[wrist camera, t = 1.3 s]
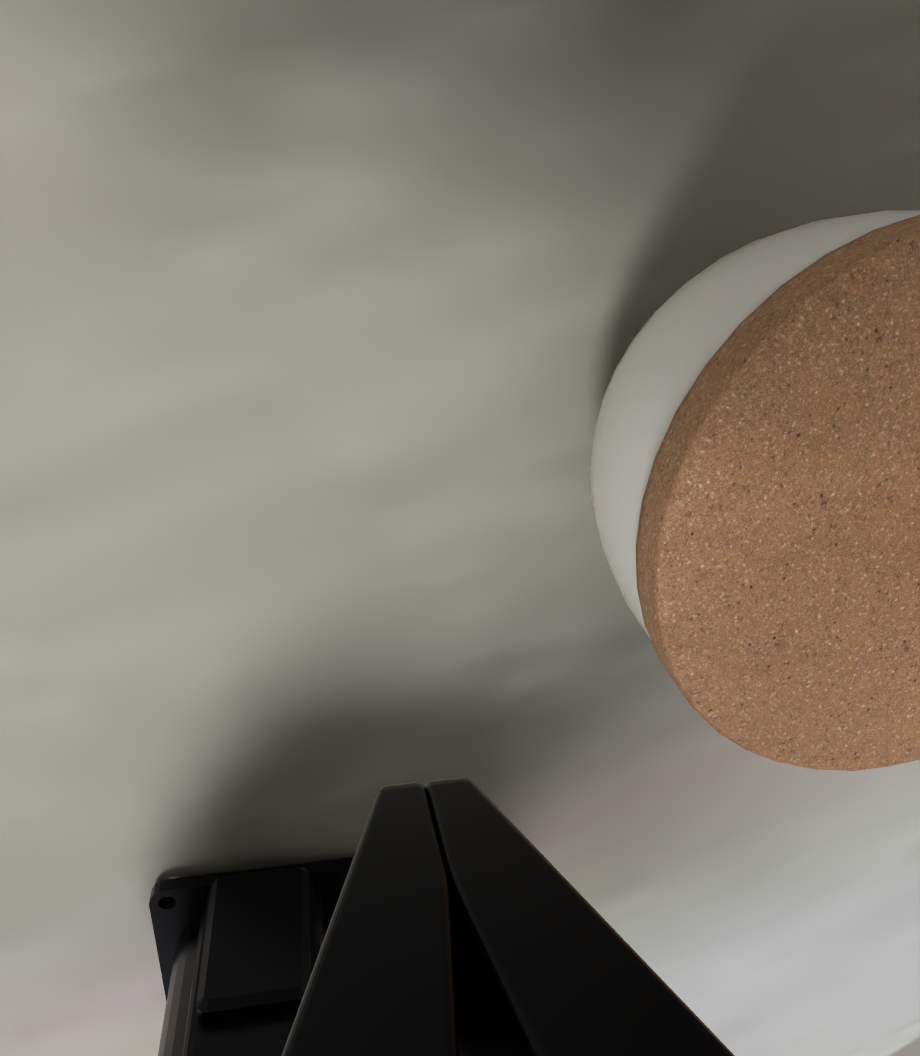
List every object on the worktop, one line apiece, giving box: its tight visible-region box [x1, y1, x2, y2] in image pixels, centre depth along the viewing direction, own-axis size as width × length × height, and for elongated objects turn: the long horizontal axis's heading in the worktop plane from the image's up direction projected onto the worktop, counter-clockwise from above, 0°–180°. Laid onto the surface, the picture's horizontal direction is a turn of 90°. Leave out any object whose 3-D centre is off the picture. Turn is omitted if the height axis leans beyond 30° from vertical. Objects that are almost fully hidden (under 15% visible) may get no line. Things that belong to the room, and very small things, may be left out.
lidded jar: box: [590, 210, 920, 771], centre depth 17 cm, size 11×11×9 cm
